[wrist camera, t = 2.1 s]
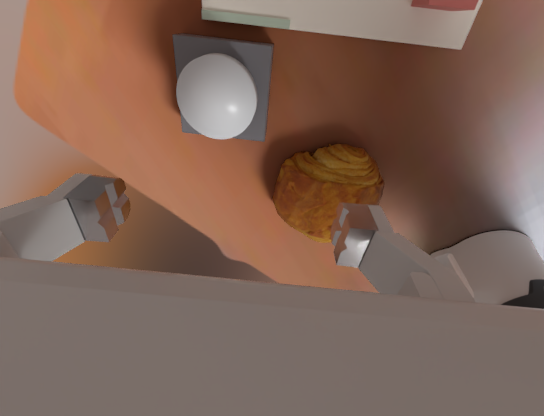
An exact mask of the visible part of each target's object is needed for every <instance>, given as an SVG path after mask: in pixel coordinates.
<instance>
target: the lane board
mask: <svg viewBox="0 0 544 416" xmlns="http://www.w3.org/2000/svg"><path fill="white" fill-rule="evenodd" d="M412 1H413V0H202V9H201V12H202V19H205V20H214V21H222V22H230V23H239V24H247V25H256V26H264V27H273V28H281V29H290V30H299V31H307V32H315V33H324V34H332V35H341V36H349V37H358V38H366V39H374V40H383V41H391V42H400V43H408V44H417V45H425V46H433V47H442V48H450V49H459V50H461V49H462V47H463V44H464V42H465V40H466V37H467V35H468V33H469V31H470V28H471V26H472V24H473V22H474V19H475V17H476V15H477V13H478V10H479V8H480V6H481V3H482V1H483V0H479V1H478V3H477V5H476V8H475V10H466V11H445V10H437V9H428V8H420V7H412V6H411V4H412Z"/></svg>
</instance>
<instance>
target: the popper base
mask: <svg viewBox="0 0 544 416" xmlns="http://www.w3.org/2000/svg"><path fill="white" fill-rule="evenodd" d="M173 44H174V54H175V64H176V74H177V81H178V78H179V75H180V74H181V72H182V70H183V69H184V67H185V66H186V65H187V64H188V63H189V62H191V61H192V60H194V59H196V58H198V57H201V56H203V55H206V54H210V53H221V54H226V55H229V56H231V57H233V58H235V59H236V60H238V61H239V62H241V63H242V64H243V65H244V66H245V67H246V68H247V69H248V71H249V72H250V74H251V75H252V77H253V79H254V82H255V84H256V88H257V94H258V102H257V108H256V111H255V114H254V116H253V119H252V121H251V123H250V124H249V126H248V127H247V128H246V129H245V130H244V131H243V132H242V133H240V134H239V135H237V136H235V137H232V138H237V139H246V140H254V141H263V142H264V141H265V136H266V129H267V117H268V106H269V94H270V82H271V71H272V59H273V47H274V44H270V43H261V42H253V41H244V40H236V39H227V38H219V37H210V36H202V35H193V34H185V33H180V34H173ZM180 113H181V111H180ZM181 123H182V132H185V133H194V134H201V133H199V132H198V131H196V130H195V129H194V128H193V127H191V126H190V125H189V123H188V122H187V121H186V120H185V118H184V117H183V115H182V113H181Z"/></svg>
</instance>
